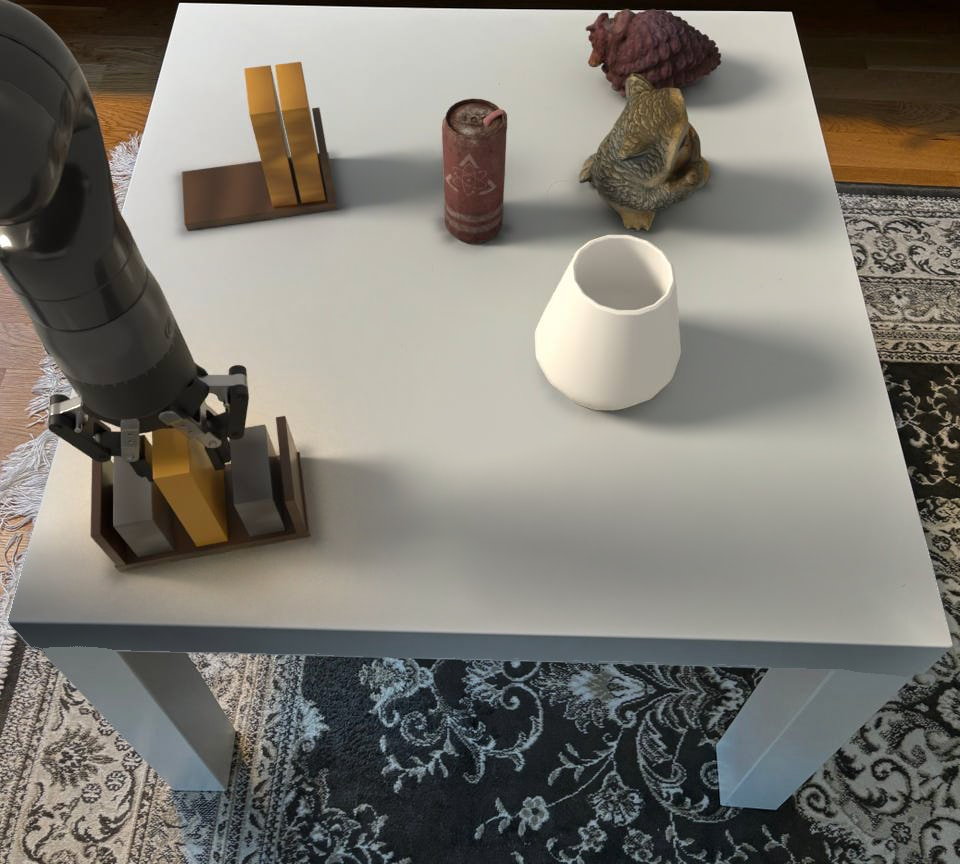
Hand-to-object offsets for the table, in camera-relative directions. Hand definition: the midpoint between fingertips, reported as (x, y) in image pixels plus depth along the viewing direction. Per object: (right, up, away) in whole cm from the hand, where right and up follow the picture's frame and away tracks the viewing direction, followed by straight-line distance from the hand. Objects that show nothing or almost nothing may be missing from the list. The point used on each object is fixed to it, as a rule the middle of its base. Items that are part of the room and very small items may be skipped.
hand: (187, 465), depth 70 cm
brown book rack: (0, -4, +7) cm, 8 cm away
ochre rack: (-1, +29, +27) cm, 39 cm away
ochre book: (0, -4, +6) cm, 7 cm away
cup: (+35, +8, +15) cm, 39 cm away
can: (+22, +25, +25) cm, 42 cm away
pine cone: (+43, +44, +37) cm, 72 cm away
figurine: (+41, +28, +27) cm, 57 cm away
